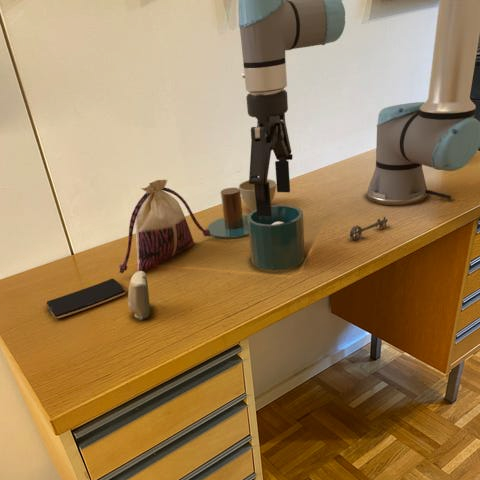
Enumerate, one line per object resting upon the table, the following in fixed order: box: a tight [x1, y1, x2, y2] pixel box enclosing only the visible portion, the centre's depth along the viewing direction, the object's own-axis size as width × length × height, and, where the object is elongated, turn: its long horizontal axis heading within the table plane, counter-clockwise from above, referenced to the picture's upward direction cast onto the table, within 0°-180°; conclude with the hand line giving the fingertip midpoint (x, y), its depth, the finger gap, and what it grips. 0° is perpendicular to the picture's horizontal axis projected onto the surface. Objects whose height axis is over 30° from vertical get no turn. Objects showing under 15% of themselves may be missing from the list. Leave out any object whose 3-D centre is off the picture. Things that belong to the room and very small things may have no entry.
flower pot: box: [238, 178, 277, 212], centre depth 133 cm, size 10×10×7 cm
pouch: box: [118, 178, 212, 274], centre depth 109 cm, size 25×8×19 cm, turn 138°
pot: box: [247, 204, 306, 271], centre depth 105 cm, size 12×12×10 cm
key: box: [349, 216, 388, 241], centre depth 113 cm, size 12×1×3 cm, turn 124°
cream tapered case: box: [127, 270, 151, 321], centre depth 92 cm, size 6×5×8 cm
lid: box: [206, 187, 249, 240], centre depth 122 cm, size 14×14×10 cm
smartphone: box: [46, 278, 127, 319], centre depth 101 cm, size 7×1×15 cm
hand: (274, 203), depth 101 cm, fingers open, 13 cm apart
